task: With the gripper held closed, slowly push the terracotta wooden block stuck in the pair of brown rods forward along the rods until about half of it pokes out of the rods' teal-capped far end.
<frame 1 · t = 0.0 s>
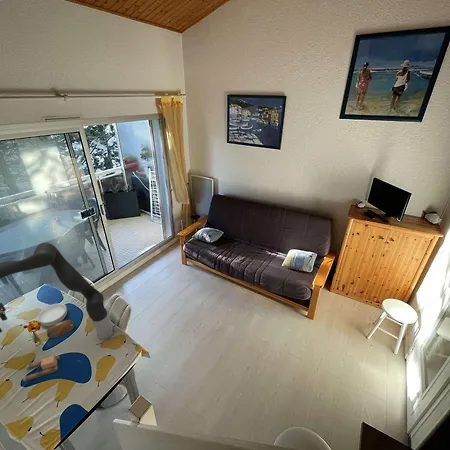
hand: (2, 325, 131), 29 cm above the table, tool pointing down, fingers open, 8 cm apart
block: (51, 366, 142), on the table
cereal bowl: (55, 319, 170), on the table
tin: (62, 332, 161), on the table
pair of brown rods: (42, 369, 140), on the table
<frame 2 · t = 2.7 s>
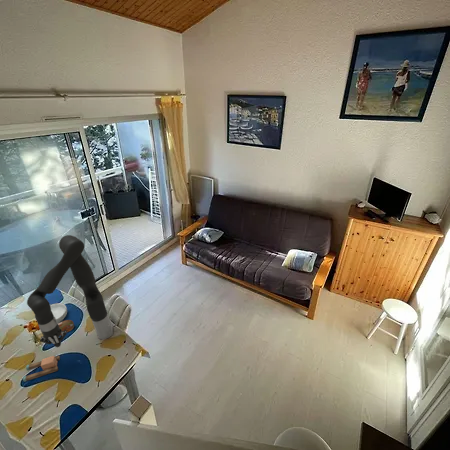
hand: (58, 345, 137), 15 cm above the table, tool pointing down, fingers closed
nothing on the table moved.
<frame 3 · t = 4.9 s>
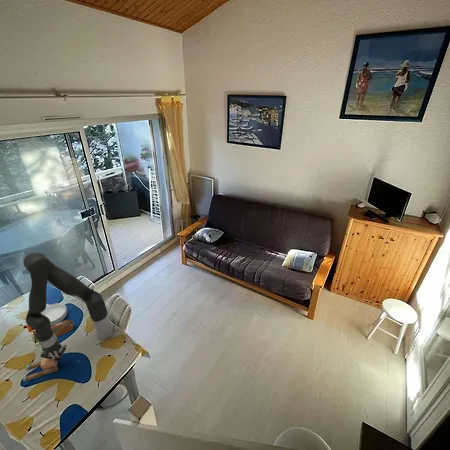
hand: (58, 360, 142), 4 cm above the table, tool pointing down, fingers closed
block: (50, 366, 142), on the table, touching gripper
everything else where it was.
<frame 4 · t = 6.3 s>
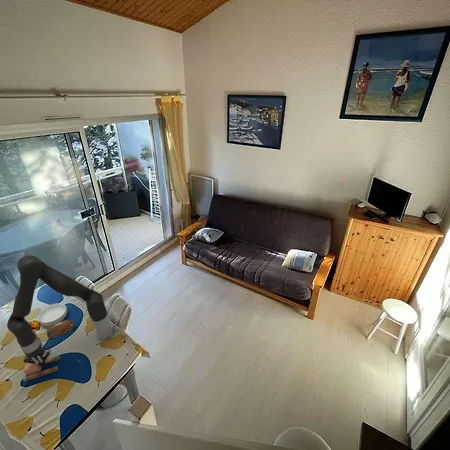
hand: (42, 364, 139), 4 cm above the table, tool pointing down, fingers closed
block: (34, 371, 139), on the table, touching gripper
everything else where it was.
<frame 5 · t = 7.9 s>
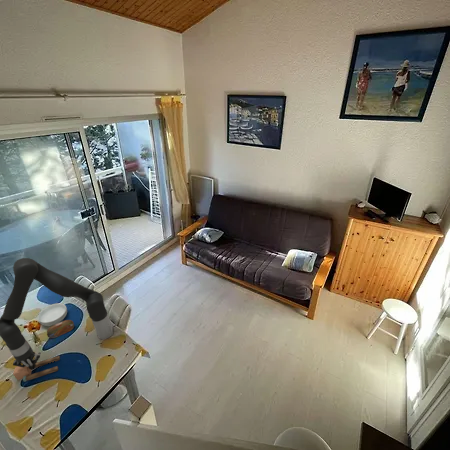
hand: (33, 367, 137), 3 cm above the table, tool pointing down, fingers closed
block: (24, 374, 138), on the table, touching gripper
everything else where it was.
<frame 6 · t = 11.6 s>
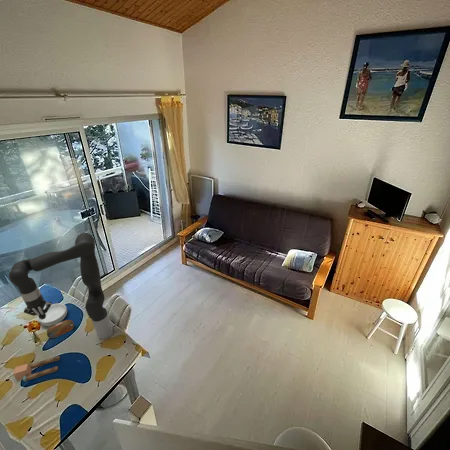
hand: (43, 318, 136), 29 cm above the table, tool pointing down, fingers closed
block: (24, 374, 138), on the table
everything else where it was.
at the end: block 0.2 cm from the target spot, on the table; block tilted 0° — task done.
